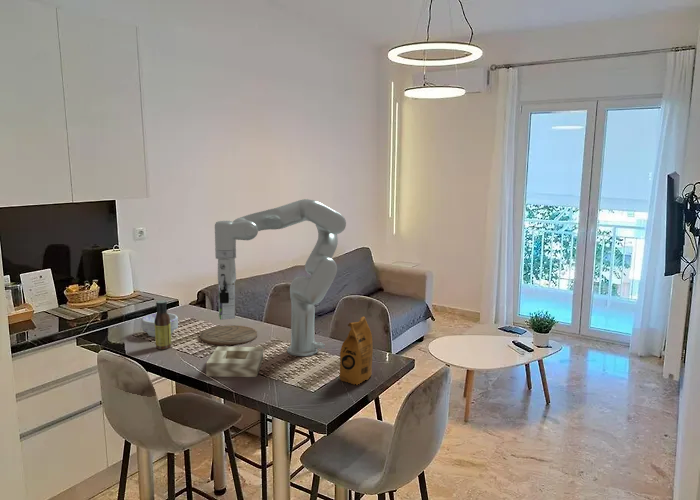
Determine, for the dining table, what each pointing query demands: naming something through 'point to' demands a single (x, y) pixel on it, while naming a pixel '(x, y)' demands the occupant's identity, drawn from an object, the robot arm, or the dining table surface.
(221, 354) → the socket block
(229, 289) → the syrup box
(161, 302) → the sauce bottle
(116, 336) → the dining table surface
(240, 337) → the trivet
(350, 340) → the coffee package
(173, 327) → the paper bowls
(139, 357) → the dining table surface
